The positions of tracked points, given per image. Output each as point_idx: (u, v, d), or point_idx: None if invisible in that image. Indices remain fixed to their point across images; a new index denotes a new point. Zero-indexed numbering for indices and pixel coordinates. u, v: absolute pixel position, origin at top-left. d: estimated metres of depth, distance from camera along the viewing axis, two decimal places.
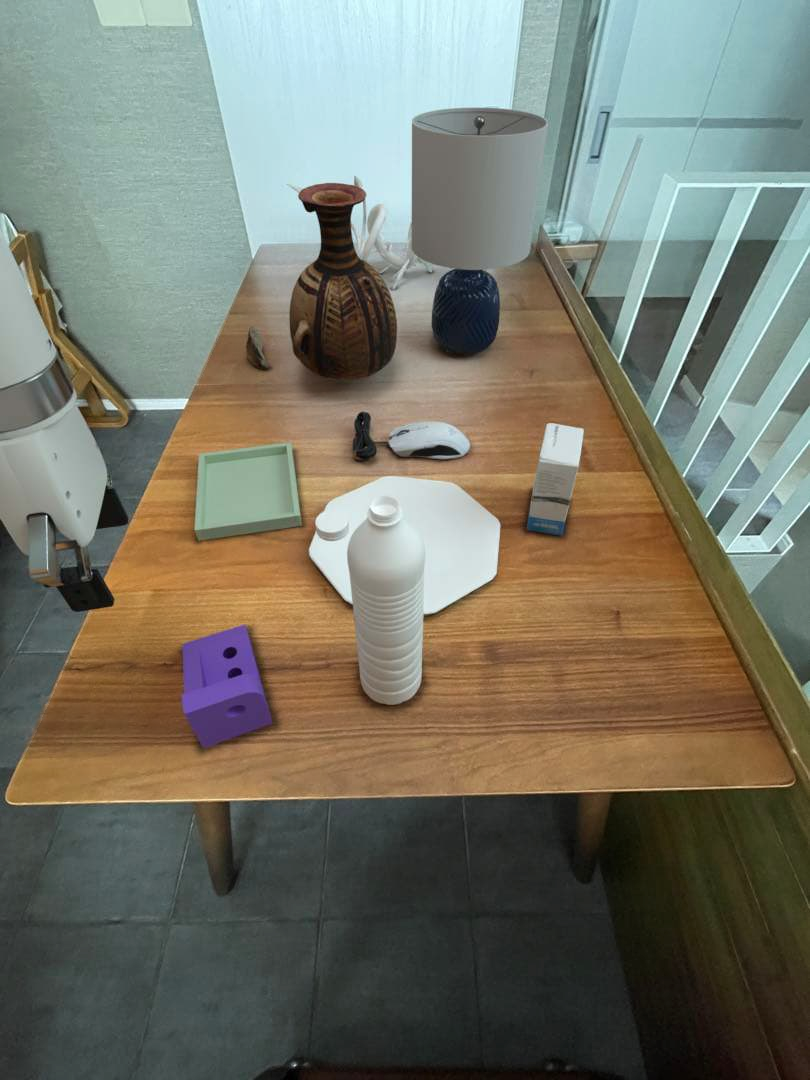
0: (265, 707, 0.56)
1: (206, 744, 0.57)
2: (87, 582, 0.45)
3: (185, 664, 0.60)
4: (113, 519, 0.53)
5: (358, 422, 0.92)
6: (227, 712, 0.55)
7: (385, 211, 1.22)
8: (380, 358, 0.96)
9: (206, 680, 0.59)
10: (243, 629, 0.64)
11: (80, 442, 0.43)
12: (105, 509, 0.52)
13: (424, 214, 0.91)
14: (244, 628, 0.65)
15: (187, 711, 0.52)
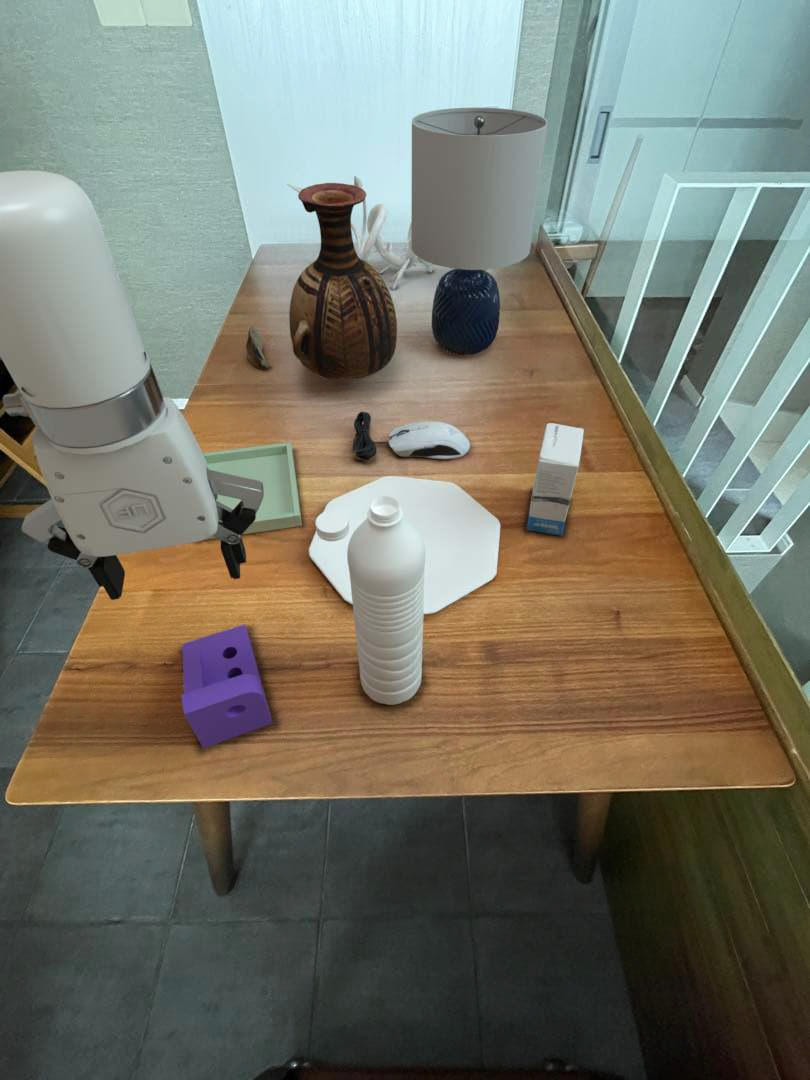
0: (265, 707, 0.56)
1: (206, 744, 0.57)
2: None
3: (185, 664, 0.60)
4: (120, 572, 0.49)
5: (358, 422, 0.92)
6: (227, 712, 0.55)
7: (385, 211, 1.22)
8: (380, 358, 0.96)
9: (206, 680, 0.59)
10: (243, 629, 0.64)
11: None
12: (114, 564, 0.48)
13: (424, 214, 0.91)
14: (244, 628, 0.65)
15: (187, 711, 0.52)
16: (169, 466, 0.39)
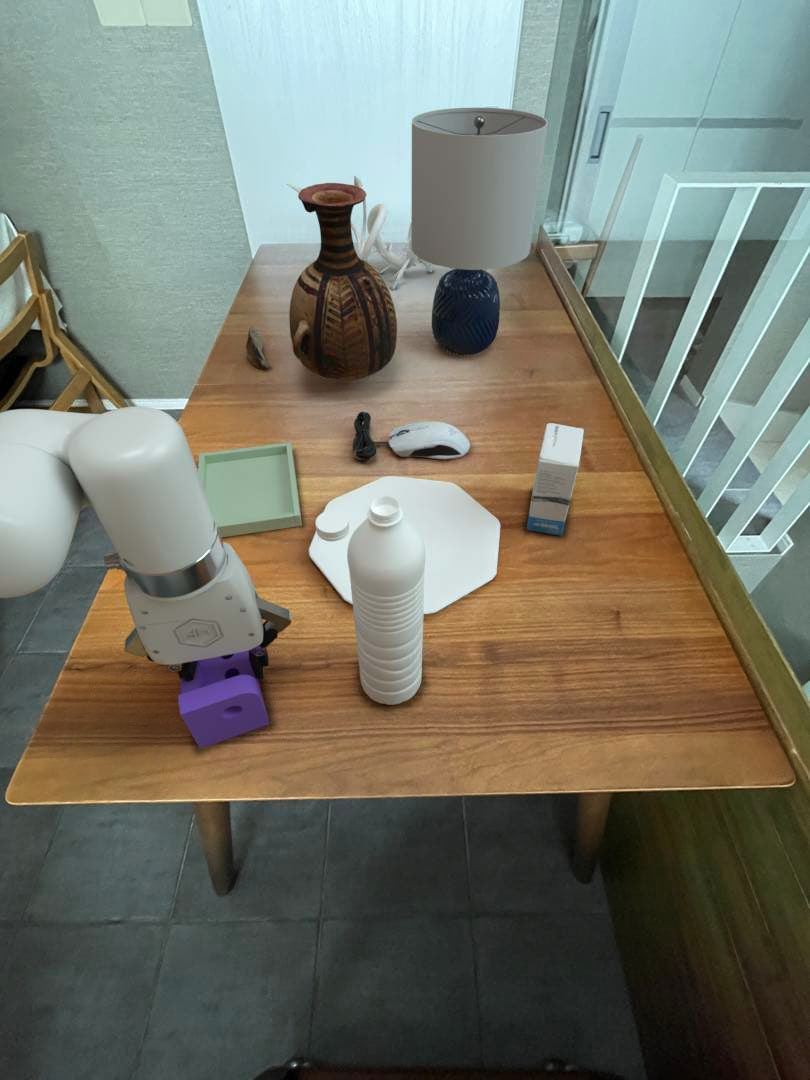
0: (262, 708, 0.56)
1: (203, 745, 0.57)
2: None
3: None
4: None
5: (358, 422, 0.92)
6: (224, 713, 0.55)
7: (385, 211, 1.22)
8: (380, 358, 0.96)
9: (203, 680, 0.59)
10: None
11: None
12: (194, 664, 0.58)
13: (424, 214, 0.91)
14: None
15: (183, 712, 0.52)
16: (229, 602, 0.49)
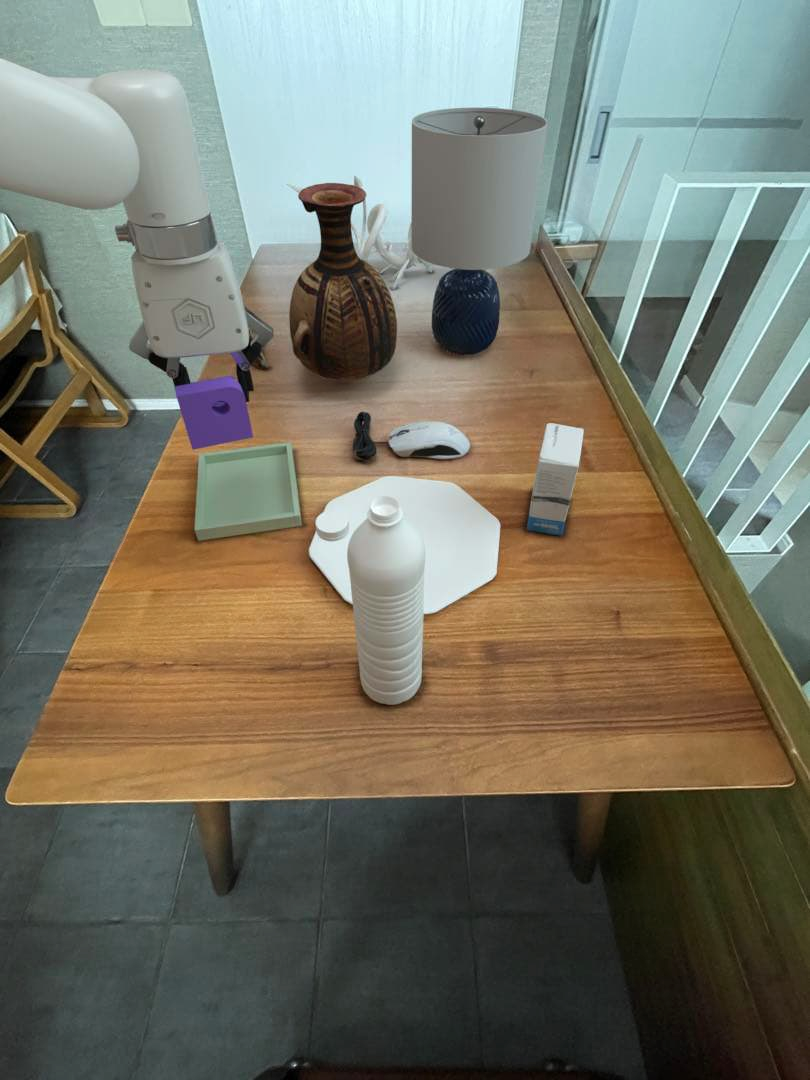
0: (247, 413, 0.65)
1: (195, 445, 0.65)
2: None
3: None
4: None
5: (358, 422, 0.92)
6: (213, 411, 0.64)
7: (385, 211, 1.22)
8: (380, 358, 0.96)
9: None
10: (230, 376, 0.73)
11: None
12: (188, 383, 0.67)
13: (424, 214, 0.91)
14: (231, 376, 0.73)
15: (179, 395, 0.61)
16: (220, 284, 0.58)
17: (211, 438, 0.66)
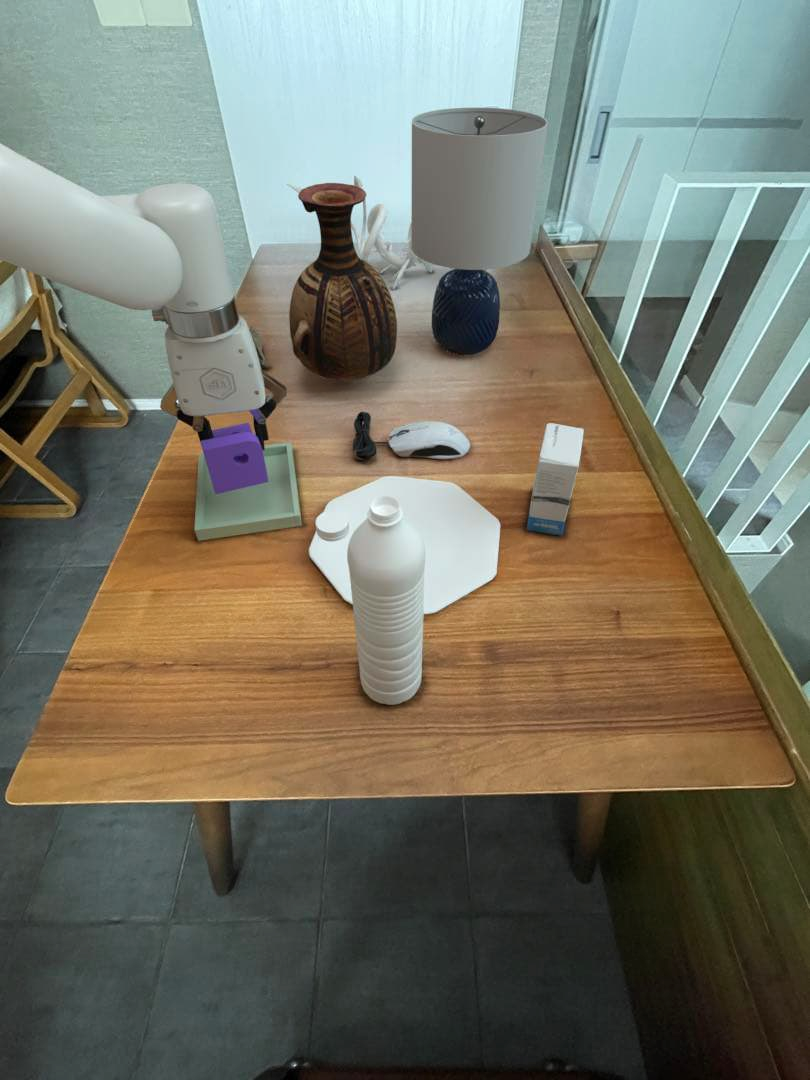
0: (263, 461, 0.74)
1: (217, 490, 0.74)
2: None
3: None
4: None
5: (358, 422, 0.92)
6: (234, 461, 0.73)
7: (385, 211, 1.22)
8: (380, 358, 0.96)
9: None
10: (246, 424, 0.82)
11: None
12: (211, 434, 0.76)
13: (424, 214, 0.91)
14: (247, 424, 0.82)
15: (205, 449, 0.70)
16: (241, 355, 0.66)
17: (232, 484, 0.74)
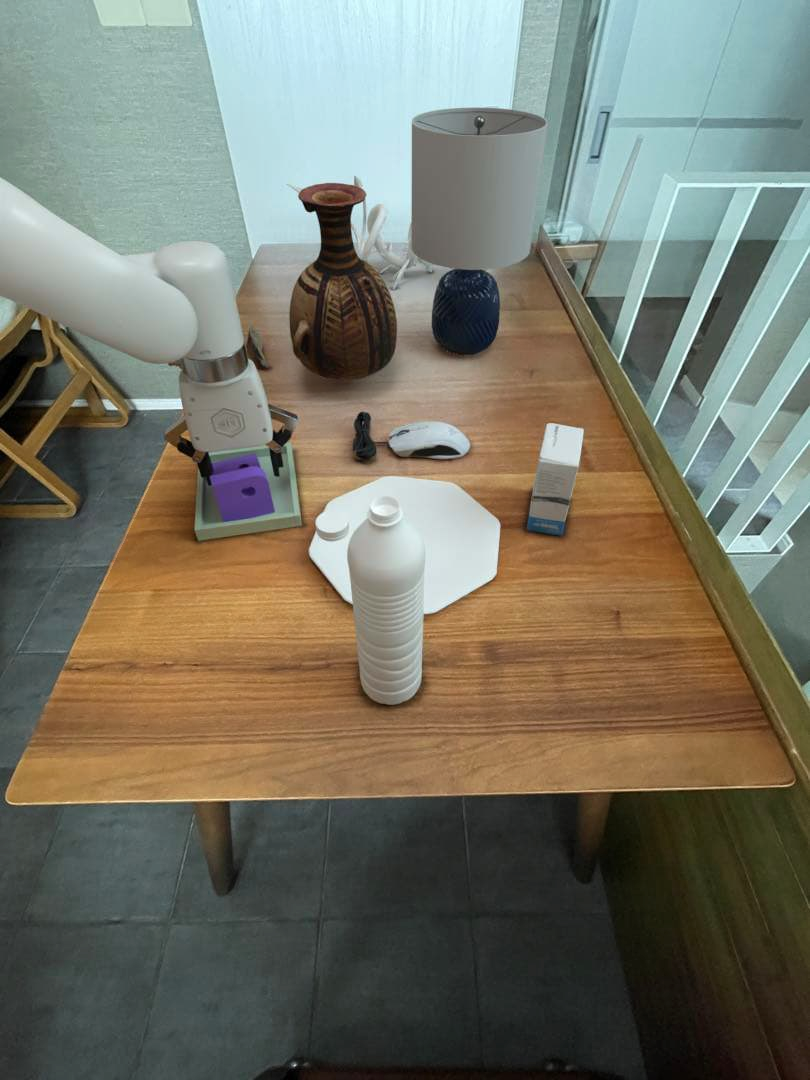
0: (269, 494, 0.77)
1: (226, 521, 0.78)
2: None
3: None
4: (212, 470, 0.80)
5: (358, 422, 0.92)
6: (242, 494, 0.76)
7: (385, 211, 1.22)
8: (380, 358, 0.96)
9: None
10: (254, 455, 0.86)
11: None
12: (210, 464, 0.79)
13: (424, 214, 0.91)
14: (254, 454, 0.86)
15: (214, 484, 0.73)
16: (250, 396, 0.70)
17: (240, 515, 0.78)
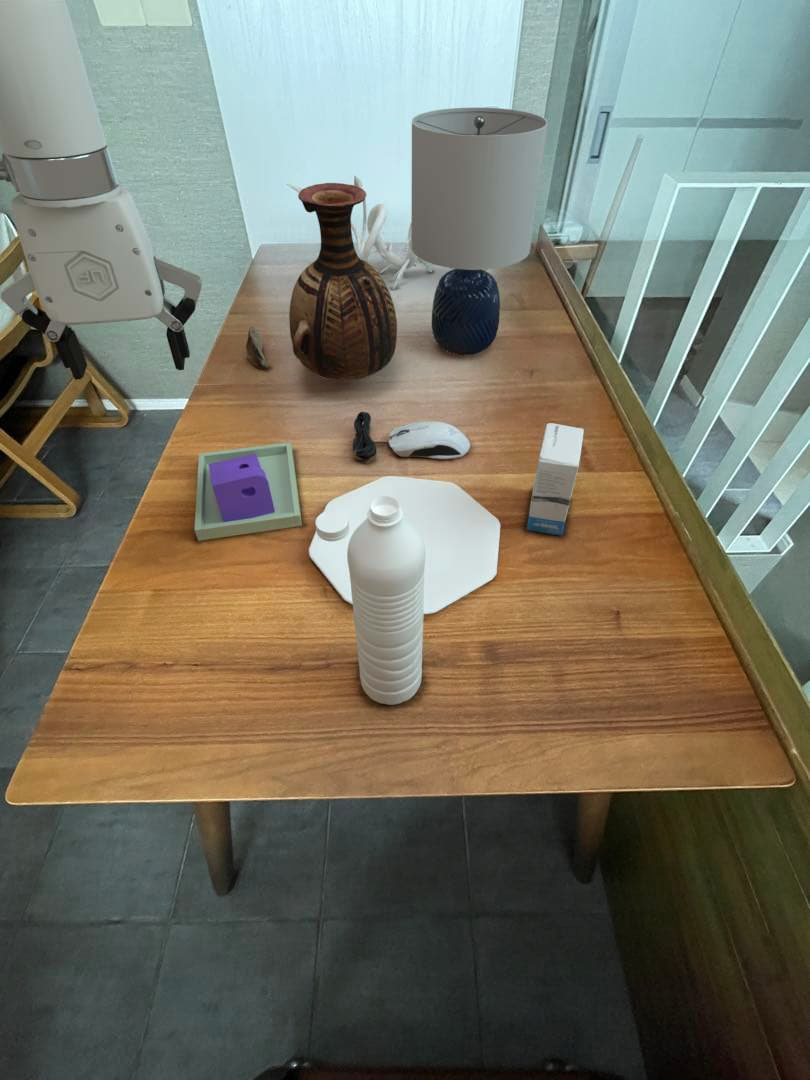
0: (269, 494, 0.77)
1: (226, 521, 0.78)
2: None
3: (211, 470, 0.81)
4: (82, 360, 0.58)
5: (358, 422, 0.92)
6: (242, 494, 0.76)
7: (385, 211, 1.22)
8: (380, 358, 0.96)
9: None
10: (254, 455, 0.86)
11: None
12: (77, 349, 0.57)
13: (424, 214, 0.91)
14: (254, 454, 0.86)
15: (214, 484, 0.73)
16: (121, 234, 0.49)
17: (240, 515, 0.78)
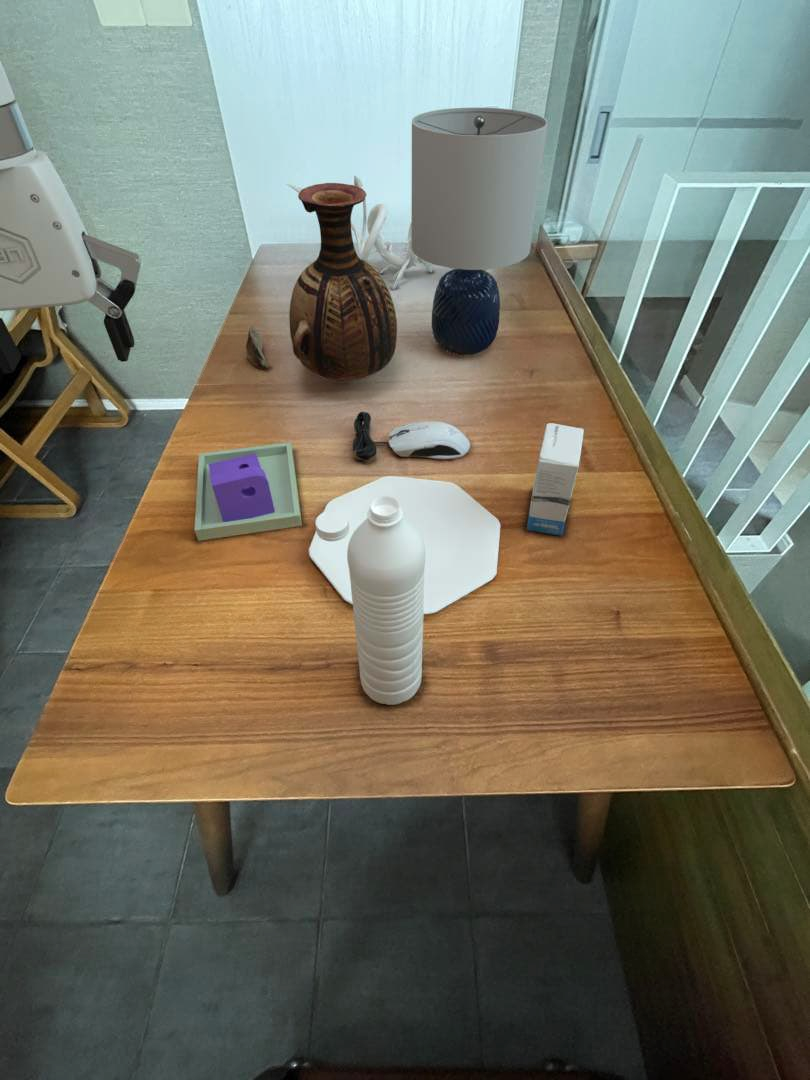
0: (269, 494, 0.77)
1: (226, 521, 0.78)
2: None
3: (211, 470, 0.81)
4: (14, 352, 0.52)
5: (358, 422, 0.92)
6: (242, 494, 0.76)
7: (385, 211, 1.22)
8: (380, 358, 0.96)
9: None
10: (254, 455, 0.86)
11: None
12: (6, 339, 0.51)
13: (424, 214, 0.91)
14: (254, 454, 0.86)
15: (214, 484, 0.73)
16: (37, 205, 0.43)
17: (240, 515, 0.78)
